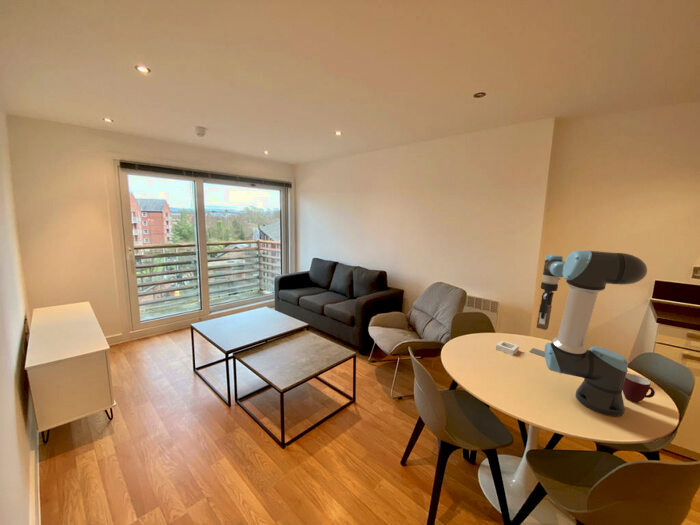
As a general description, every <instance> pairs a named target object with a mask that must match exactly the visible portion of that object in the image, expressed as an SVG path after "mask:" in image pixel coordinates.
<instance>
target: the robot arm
mask: <svg viewBox="0 0 700 525" xmlns="http://www.w3.org/2000/svg"><path fill="white" fill-rule="evenodd" d="M542 270H543V272H542V277H541V281H542V282H540V283H541V285H540V288H541V289H542V290H544V291H543V292H542V295H541V300H540V305H541V306H540V305H539V308H540V311H538V313H539V312H541V313H540V319H539V323H540V324H544V325H545V320H546V314H547V313H546V311H547V307H548V305H552V303H553V297H554V294H555V293H554V292H557V291H558V288H559V281H561V278H563V279H564V280H566V281H565V282H566V284H567V285H568V286H569V289H568V294H567V297H566V301H565V305H564V309H563V313H562V316H561V318H562V319H561V322H560V326H559V329H558V333H557V336H555V337H553V338H552V340H551V342H545V345H544V352H545V356H544V360H545V363H546V364H545V365H546V366H547V368H548V370H550V371H551V372H555V373H558V374H563V375H568V376H573V377H578V378H583V381H582V382H581V383H580V385H579V386H578V387H577V389H576V390H575V391H576V392H575V398H576V400H577V401H578V402H579V403H580V404H581V405H583V406H585V407H587V408H588V409H590V410H591V411H592V410H593V411H595V412H596V413H599V414H602V415H606V416H609V417H622V416H623V415H624V414H625V408H626V407H625V403H624V398H623V386H624V381H625V377H626V374H628V367H629V362H628V360H627V359H626V358H625V357H624V356H622V355H621V354H619V353H618V352H615V351H613V350H610V349H607V348H604V347H600V346H596V345H595V346H593V345H592V346H591V347H590V348H589V349H587V347H586V346H585V344H584V343H585V340H586V338H587V332H588V330H589V326H590V322H591V318H592V315H593V312H594V308H595V304H596V301H597V298H598V294H599V293H600V292H602V291H604V290H605V289H606V285H609V284H610V285H611V284H612V285H621V286H622V285H631V284H636V283H639V282H641V281H642V280H643V279H644V278H645V277H646V275H647V272H648V268H647V265H646V262H644V260H642V259H641V258H640V257H638V256H635V255H633V254H629V253H623V252H610V251H594V250H573V251H572V252H571V253H569V254H568V256H567V257H566V259H565V261H563V256H562V255H558V254H546V255H545V258H544V265H543V269H542Z"/></svg>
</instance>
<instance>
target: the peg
mask: <svg viewBox="0 0 700 525" xmlns="http://www.w3.org/2000/svg"><path fill="white" fill-rule="evenodd" d="M540 306H541V304H539V308H538V310H539V311H540ZM552 307H553V306H552V304H551V305H548V307H547V311H546V313H547V314H546V320H545V325H544V324H540V323H539V319H540V313H541V312H539V311H538V315H537V322H536V328H537V329H539V330H544V331H546V330H548V329H549V325H550V320H551V313H552Z"/></svg>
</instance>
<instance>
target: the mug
mask: <svg viewBox="0 0 700 525" xmlns="http://www.w3.org/2000/svg"><path fill="white" fill-rule="evenodd" d="M649 391H650V393H649ZM648 393H649V394H648ZM622 395H623V396H624V398H625V399H626V400H627V401H629V402H631V403H634V402H635V403H634V404H638V403H640V402H642V401H643V400H644V399H646V398H648V399H649V398H653V397H654V396H655V395H656V391H655V390H654V388H653V387H651V382H650V381H649V380H648V379H646V378H644V377H641V376H639V375H636V374H634V373H626V377H625V381H624V386H623V390H622Z"/></svg>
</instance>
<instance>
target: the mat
mask: <svg viewBox="0 0 700 525" xmlns="http://www.w3.org/2000/svg"><path fill="white" fill-rule="evenodd" d="M528 352H529V353H531V354H534V355H538V356H540V357H544V358H545V350H544V351H543V350H540V349H538V348H535V347H532V348H531V349H530V350H529V351H528Z"/></svg>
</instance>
